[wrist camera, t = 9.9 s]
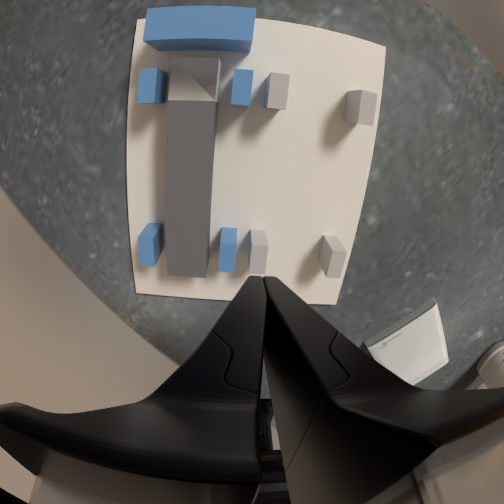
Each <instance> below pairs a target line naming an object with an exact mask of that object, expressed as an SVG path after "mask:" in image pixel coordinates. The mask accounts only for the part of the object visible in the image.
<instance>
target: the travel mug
mask: <svg viewBox="0 0 504 504" xmlns="http://www.w3.org/2000/svg"><path fill="white" fill-rule="evenodd" d="M476 370H477V371H478V373H479V375H480V376H481V378H482V379H483V381H484V382H485V384H486V386H487V387H488V389H493V388H500V387H504V342H503V341H500V342H497V343H495V344H494V345H492V346H491V347H490V348H489V349H488V350H487V351H486V352H485V353H484V354H483V355H482V356H481V358H480V359H479V361H478V363H477V366H476Z"/></svg>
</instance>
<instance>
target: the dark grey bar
mask: <svg viewBox="0 0 504 504" xmlns="http://www.w3.org/2000/svg"><path fill="white" fill-rule="evenodd" d="M221 69H222V65H221V62H220V59H218V58H172V61H171V71H170V81H169V93H168V107H167V123H166V146H165V239H166V263H167V275H171V276H185V277H199V278H206V274H207V268H208V262H209V244H210V219H211V198H212V180H213V164H214V149H215V136H216V123H217V111H218V100H219V89H220V79H221Z"/></svg>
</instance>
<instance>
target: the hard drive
mask: <svg viewBox="0 0 504 504" xmlns="http://www.w3.org/2000/svg"><path fill="white" fill-rule="evenodd" d="M364 343H365V345H366V347H367V348H368V350H369V352H370V353H371V355H372V357H373V358H374V360H376V361H377V362H378V363H380V364H381V365H383V366H384V367H386V368H387V369H389V370H390V371H391V372H393V373H394V374H396V375H397V376H399V377H400V378H401V379H403V380H404V381H406V382H408V383H409V384H411V385H414V384H416V383H418V382H419V381H421V380H423V379H424V378H426V377H427V376H429V375H431V374H432V373H434V372H435V371H437V370H438V369H440V368H441V367H442V366H444V365H445V364H447V362H448V361H449V359H448V353H447V348H446V342H445V337H444V332H443V327H442V323H441V318H440V314H439V310H438V306H437V302H436V301H435V300H434V298H431V299H430V300H429V301H427V302H426V303H424V304H423V305H421V306H420V307H418V308H417V309H415V310H414V311H413V312H411V313H410V314H408V315H406V316H405V317H403V318H402V319H400V320H399V321H397V322H396V323H394V324H392V325H391V326H389V327H388V328H386V329H384V330H383V331H381V332H380V333H378V334H376V335H375V336H373V337H371V338H369V339H368V340H366V341H364Z"/></svg>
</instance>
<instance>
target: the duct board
mask: <svg viewBox="0 0 504 504" xmlns="http://www.w3.org/2000/svg"><path fill="white" fill-rule="evenodd" d="M255 15H256V8H247V7H231V6H177V7H162V8H151V9H148V10H147V15H146V19H138V20H137V26H136V32H135V39H134V46H133V54H132V63H131V73H130V84H129V98H128V116H127V197H128V216H129V230H130V242H131V253H132V262H133V271H134V279H135V287H136V293H142V294H152V295H163V296H175V297H187V298H200V299H214V300H230V301H232V299H233V298H234V296H235V295H236V294H237V292H238V291H239V289H240V288H241V286H242V285H243V284H244V282H245V281H246V279H247V278H248V277H249V276H250V275H252V276H262V278H263V277H264V276H275V277H277V278H278V279H280V280H281V281H282V282H283V283H284V284H285V285H286V286H288V287H289V288H290V289H291V290H292V291H293V292H294V293H296V294H297V295H298V296H299V297H300V298H301V299H302V300H304V301H305V302H306V303H307V304H334V305H336V302H337V298H338V295H339V292H340V289H341V285H342V282H343V278H344V275H345V271H346V268H347V264H348V261H349V257H350V253H351V249H352V246H353V242H354V238H355V234H356V230H357V226H358V222H359V217H360V213H361V209H362V204H363V200H364V195H365V190H366V186H367V181H368V176H369V171H370V165H371V160H372V154H373V149H374V143H375V137H376V130H377V124H378V117H379V110H380V102H381V94H382V85H383V76H384V65H385V52H386V47H384V46H381V45H378V44H375V43H372V42H369V41H366V40H363V39H359V38H356V37H353V36H349V35H345V34H341V33H337V32H333V31H329V30H325V29H320V28H316V27H311V26H306V25H300V24H295V23H289V22H282V21H275V20H267V19H258V18H255ZM172 58H218V59H220V62H221V65H222V69H221V79H220V89H219V100H218V111H217V123H216V136H215V149H214V164H213V180H212V198H211V219H210V244H209V262H208V268H207V274H206V278H199V277H185V276H171V275H167V263H166V239H165V146H166V123H167V107H168V93H169V81H170V71H171V61H172Z"/></svg>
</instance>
